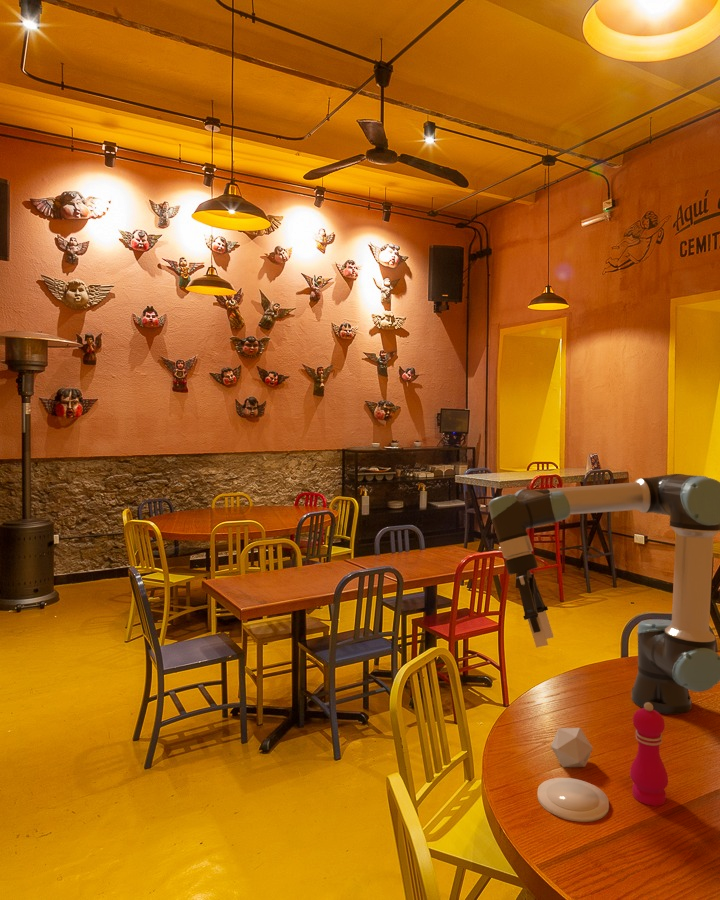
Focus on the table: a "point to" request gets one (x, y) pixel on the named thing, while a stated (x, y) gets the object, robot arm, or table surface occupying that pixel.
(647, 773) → the pepper mill
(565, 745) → the die
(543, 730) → the table surface
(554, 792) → the plate
